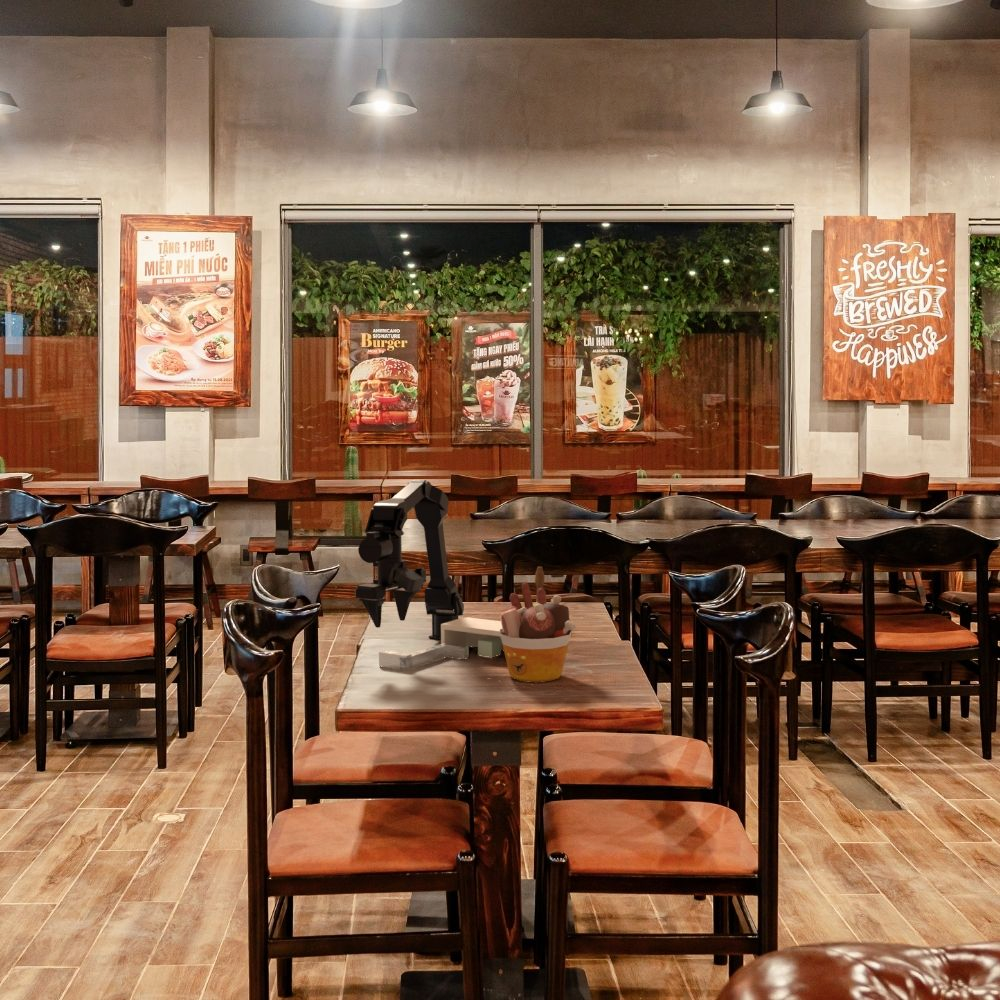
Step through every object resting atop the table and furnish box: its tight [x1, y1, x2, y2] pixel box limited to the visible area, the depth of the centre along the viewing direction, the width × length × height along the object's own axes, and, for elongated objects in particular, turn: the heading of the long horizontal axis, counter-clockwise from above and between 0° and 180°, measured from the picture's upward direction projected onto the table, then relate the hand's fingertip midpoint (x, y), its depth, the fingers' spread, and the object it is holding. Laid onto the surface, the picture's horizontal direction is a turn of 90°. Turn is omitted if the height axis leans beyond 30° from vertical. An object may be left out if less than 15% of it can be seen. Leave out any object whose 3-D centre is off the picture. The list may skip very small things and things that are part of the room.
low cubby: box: [440, 616, 504, 650], centre depth 280 cm, size 20×10×7 cm, turn 58°
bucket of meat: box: [500, 582, 577, 682], centre depth 256 cm, size 20×16×20 cm
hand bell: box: [533, 566, 545, 607], centre depth 316 cm, size 8×8×16 cm
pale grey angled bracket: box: [378, 643, 470, 672], centre depth 271 cm, size 13×18×4 cm
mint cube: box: [477, 637, 502, 657], centre depth 278 cm, size 4×4×4 cm
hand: (390, 623), depth 266 cm, fingers open, 9 cm apart
